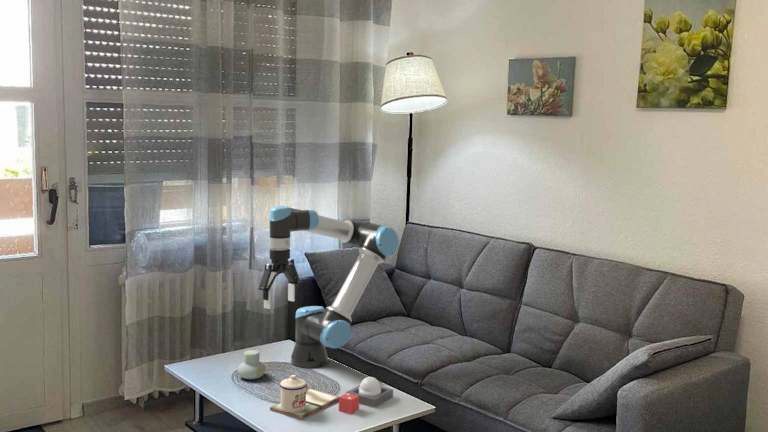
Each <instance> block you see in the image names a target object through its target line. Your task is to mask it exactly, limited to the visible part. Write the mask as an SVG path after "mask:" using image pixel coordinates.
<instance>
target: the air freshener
mask: <svg viewBox="0 0 768 432" xmlns="http://www.w3.org/2000/svg"><path fill="white" fill-rule="evenodd" d="M266 369H267V367H266V365H265V363H263V362H262V361H260V352H259V351H258V350H255V349H249V350H245V351H244V352H243V362H241V363H239V365H238V368H237V369H236V370H237V374H238V376H239V377H241V378H243V379H246V380H258V379H260V378H261V377H263V376H264V374H265V373H266Z"/></svg>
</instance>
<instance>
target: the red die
mask: <svg viewBox="0 0 768 432" xmlns="http://www.w3.org/2000/svg"><path fill="white" fill-rule="evenodd" d="M359 410H360V404H359V396H358V395H354V394H351V393H344V394H342V395H340V396H339V401H338V411H339V412H342V413H345V414H348V415H352V414H354V413H355V412H358V411H359Z"/></svg>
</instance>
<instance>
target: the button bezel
mask: <svg viewBox="0 0 768 432" xmlns="http://www.w3.org/2000/svg"><path fill="white" fill-rule="evenodd" d="M359 387H360V384H358V385H357V386H355V387H354V388H353V387H352V389H350V390H348V391H346V393H351V394H354V395H358V396H359V405H363V406H366V407H369V408H372V409H373V408H374V409H375V408H377V407H378V406H381V405H382V404H384V403H386V402H388V401H389V400H391V399H392V398H393V397H394V389H393V388H390V387H385V386H381V385H380V387H381V394H379V395H377V396H375V397H374V398H373V397H370V396H366V395H362V394H359ZM346 393H345V394H346Z"/></svg>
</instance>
